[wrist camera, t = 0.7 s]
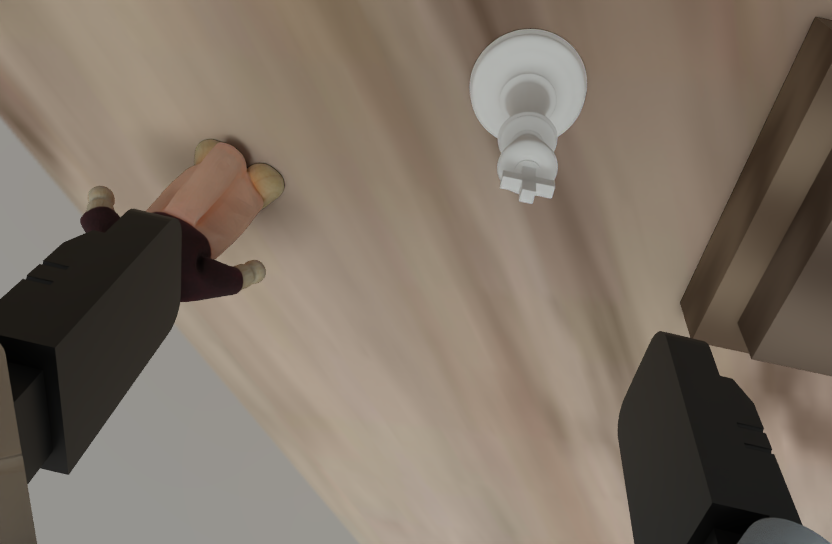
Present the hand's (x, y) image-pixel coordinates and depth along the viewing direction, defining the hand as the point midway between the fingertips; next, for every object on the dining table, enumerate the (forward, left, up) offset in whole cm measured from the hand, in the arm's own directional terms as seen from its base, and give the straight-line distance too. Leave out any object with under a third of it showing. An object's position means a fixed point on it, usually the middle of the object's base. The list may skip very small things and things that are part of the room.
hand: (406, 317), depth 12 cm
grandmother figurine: (+10, -10, -21) cm, 25 cm away
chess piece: (+3, +3, -21) cm, 21 cm away
